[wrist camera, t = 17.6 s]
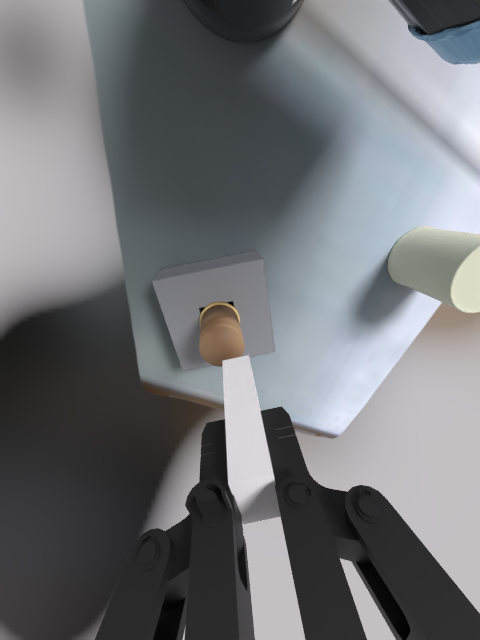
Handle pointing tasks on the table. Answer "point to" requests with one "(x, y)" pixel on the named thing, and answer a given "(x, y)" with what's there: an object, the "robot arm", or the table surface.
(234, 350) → the walnut peg
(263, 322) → the socket block
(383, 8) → the table surface
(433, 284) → the can
